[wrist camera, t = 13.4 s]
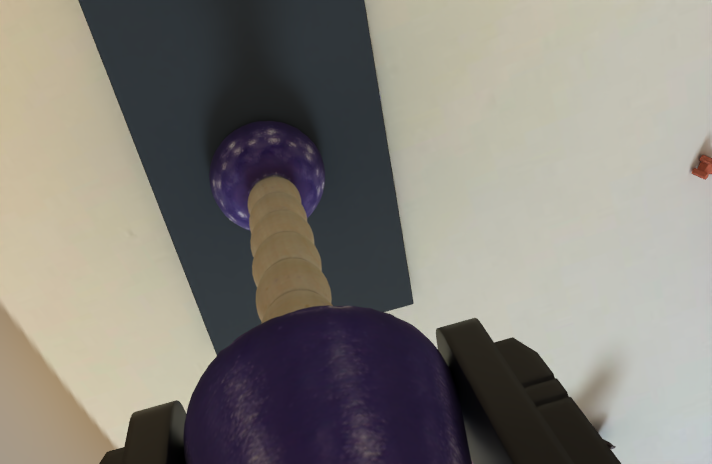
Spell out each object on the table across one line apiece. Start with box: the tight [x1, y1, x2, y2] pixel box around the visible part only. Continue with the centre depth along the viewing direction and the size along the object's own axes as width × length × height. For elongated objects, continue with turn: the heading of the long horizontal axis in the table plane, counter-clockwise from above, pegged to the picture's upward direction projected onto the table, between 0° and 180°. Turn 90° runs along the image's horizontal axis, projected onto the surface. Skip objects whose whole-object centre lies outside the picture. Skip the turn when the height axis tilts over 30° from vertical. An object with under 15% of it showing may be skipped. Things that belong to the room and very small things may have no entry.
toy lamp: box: [183, 121, 472, 464], centre depth 14 cm, size 5×5×17 cm
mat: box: [79, 0, 413, 355], centre depth 22 cm, size 16×9×1 cm, turn 10°
